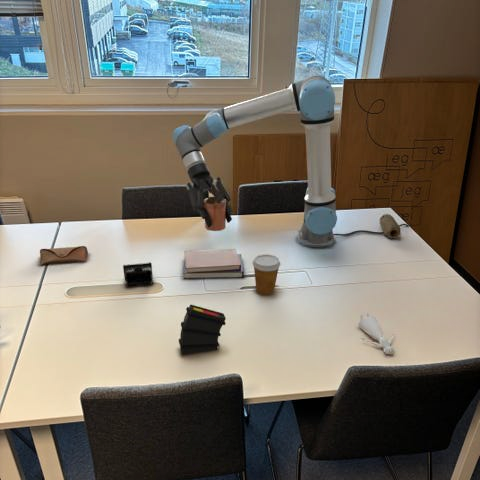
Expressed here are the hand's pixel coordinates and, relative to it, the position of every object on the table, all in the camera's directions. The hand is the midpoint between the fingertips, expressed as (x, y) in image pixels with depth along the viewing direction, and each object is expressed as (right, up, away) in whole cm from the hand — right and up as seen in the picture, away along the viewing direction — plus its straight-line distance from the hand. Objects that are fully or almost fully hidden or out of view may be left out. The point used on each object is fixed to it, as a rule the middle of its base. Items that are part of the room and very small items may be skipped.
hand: (220, 223), depth 181 cm
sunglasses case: (-61, -11, +15) cm, 64 cm away
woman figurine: (+49, -41, -27) cm, 69 cm away
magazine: (-4, -44, -33) cm, 55 cm away
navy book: (-3, -16, +10) cm, 19 cm away
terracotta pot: (-2, -1, +4) cm, 4 cm away
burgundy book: (-3, -13, +8) cm, 16 cm away
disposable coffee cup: (+16, -25, -3) cm, 30 cm away
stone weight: (+73, +3, +41) cm, 84 cm away
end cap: (-29, -21, +1) cm, 36 cm away
